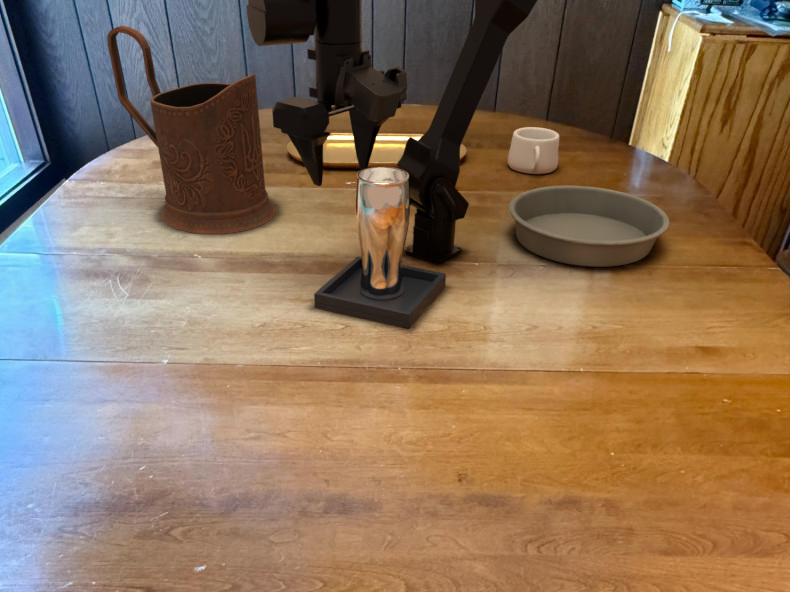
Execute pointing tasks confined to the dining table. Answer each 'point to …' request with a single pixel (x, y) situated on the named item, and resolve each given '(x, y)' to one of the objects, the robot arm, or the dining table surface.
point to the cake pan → (587, 225)
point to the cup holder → (203, 148)
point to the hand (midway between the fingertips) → (341, 176)
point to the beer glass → (382, 229)
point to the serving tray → (398, 311)
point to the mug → (534, 150)
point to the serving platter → (343, 151)
